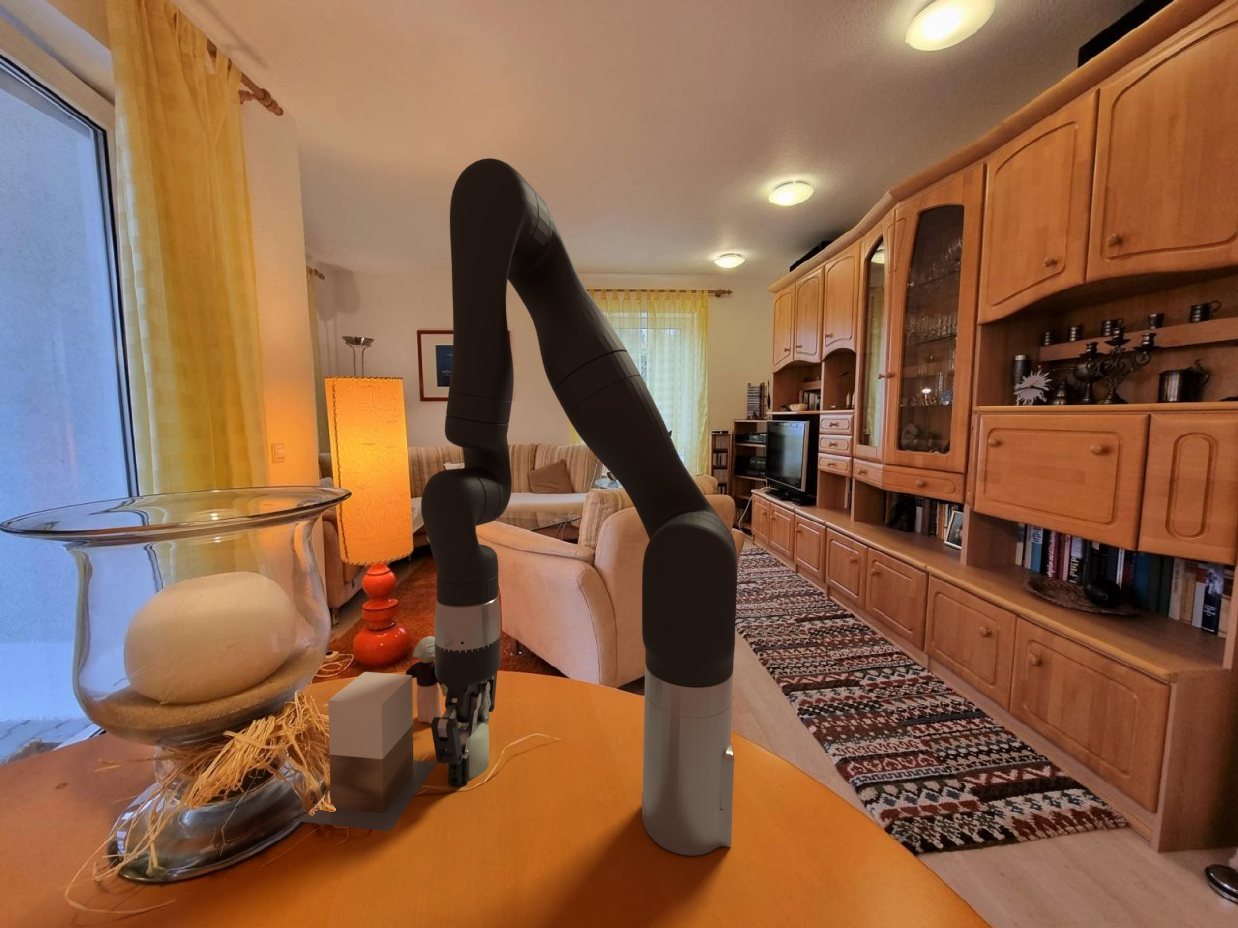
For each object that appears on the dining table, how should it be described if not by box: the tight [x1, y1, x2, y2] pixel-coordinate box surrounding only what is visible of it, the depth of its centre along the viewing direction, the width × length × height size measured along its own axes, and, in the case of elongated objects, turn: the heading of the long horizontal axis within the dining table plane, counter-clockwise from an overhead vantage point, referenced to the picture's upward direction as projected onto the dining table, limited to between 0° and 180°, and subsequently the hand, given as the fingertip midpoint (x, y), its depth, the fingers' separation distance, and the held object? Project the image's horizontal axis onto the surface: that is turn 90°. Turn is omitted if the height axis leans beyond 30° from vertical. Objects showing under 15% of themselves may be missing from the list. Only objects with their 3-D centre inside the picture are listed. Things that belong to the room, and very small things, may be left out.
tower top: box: [327, 671, 414, 759], centre depth 52 cm, size 6×6×6 cm
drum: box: [460, 721, 490, 780], centre depth 57 cm, size 5×5×5 cm
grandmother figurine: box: [405, 635, 447, 725], centre depth 66 cm, size 8×4×13 cm, turn 82°
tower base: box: [329, 724, 414, 813], centre depth 53 cm, size 6×6×6 cm
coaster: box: [298, 759, 439, 832], centre depth 53 cm, size 10×10×1 cm
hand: (468, 768), depth 57 cm, fingers closed on drum, 4 cm apart
